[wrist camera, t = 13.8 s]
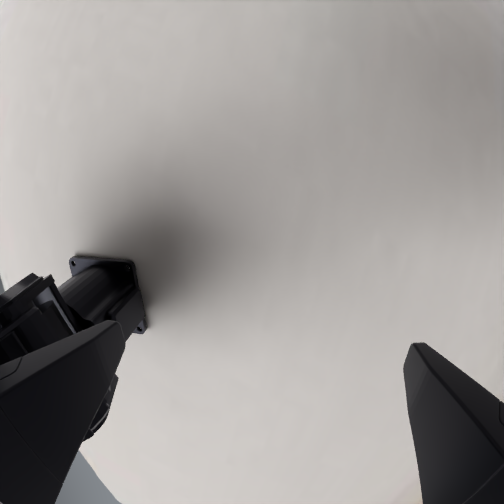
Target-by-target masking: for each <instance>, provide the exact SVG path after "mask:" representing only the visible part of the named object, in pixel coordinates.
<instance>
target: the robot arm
mask: <svg viewBox="0 0 504 504" xmlns="http://www.w3.org/2000/svg"><path fill="white" fill-rule="evenodd" d="M74 262H75V263H74ZM69 264H70V269H71V273H72V277H71V278H70V279H69V280H67V281H66V282H65V283H63V284H62V285H61V286H60V287H58V288H57V287H56V285H55V283H54V281H55V280H54V279H53V277H52V275H51V274H50V275H48V276H47V277H45V278H43V277H38V276H37V275H35V274H34V273H31V274H30V275H28V276H27V277H25V278H24V279H22V280H21V281H19V282H18V283H17V284H15V285H14V286H12V287H11V288H9V289H8V290H7V291H5V292H4V293H2V294H1V295H0V504H55V502H56V499H57V497H58V495H59V492H60V490H61V488H62V485H63V484H62V483H64V480H65V478H66V476H67V474H68V471H69V469H70V467H71V465H72V462H73V460H74V458H75V456H76V454H77V452H78V450H79V448H80V445H81V443H82V442H83V441H85V440H87V439H89V438H90V437H92V436H93V435H94V433H95V432H96V431H97V430H98V429H99V428H100V427H101V426H102V425H103V424H104V422H105V420H106V418H107V416H108V413H109V409H110V406H111V402H112V399H113V395H114V392H115V389H116V385H117V382H118V377H117V375H116V374H115V372H116V370H117V367H118V365H119V362H120V360H121V357H122V355H123V352H124V350H125V342H126V340H127V339H128V338H129V337H130V335H131V334H132V333H137V334H143V333H144V332H145V331H146V329H147V327H146V322H145V318H144V317H145V313H144V308H143V302H142V297H141V292H140V289H139V287H138V281H137V276H136V270H135V265H134V263H133V262H132V261H130V260H121V259H107V258H93V257H79V256H73V257H72V258H70V260H69ZM127 265H128V266H129V268H130V269H128V268H127ZM139 327H141V328H142V329H140V328H139ZM403 372H404V380H405V388H406V397H407V407H408V415H409V420H410V425H411V430H412V435H413V440H414V446H415V452H416V457H417V464H418V470H419V477H420V484H421V492H422V500H423V504H504V403H503V402H502V401H500V400H499V399H498V398H497V397H495V396H494V395H493V394H491V393H490V392H489V391H488V390H486V389H485V388H484V387H482V386H481V385H480V384H479V383H477V382H476V381H475V380H473V379H472V378H471V377H469V376H468V375H467V374H466V373H464V372H463V371H462V370H460V369H459V368H458V367H456V366H455V365H454V364H452V363H451V362H450V361H448V360H447V359H446V358H444V357H443V356H442V355H440V354H439V353H438V352H436V351H435V350H434V349H432V348H431V347H430V346H428V345H427V344H426V343H413V344H411V346H410V348H409V351H408V354H407V357H406V360H405V363H404V368H403Z"/></svg>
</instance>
